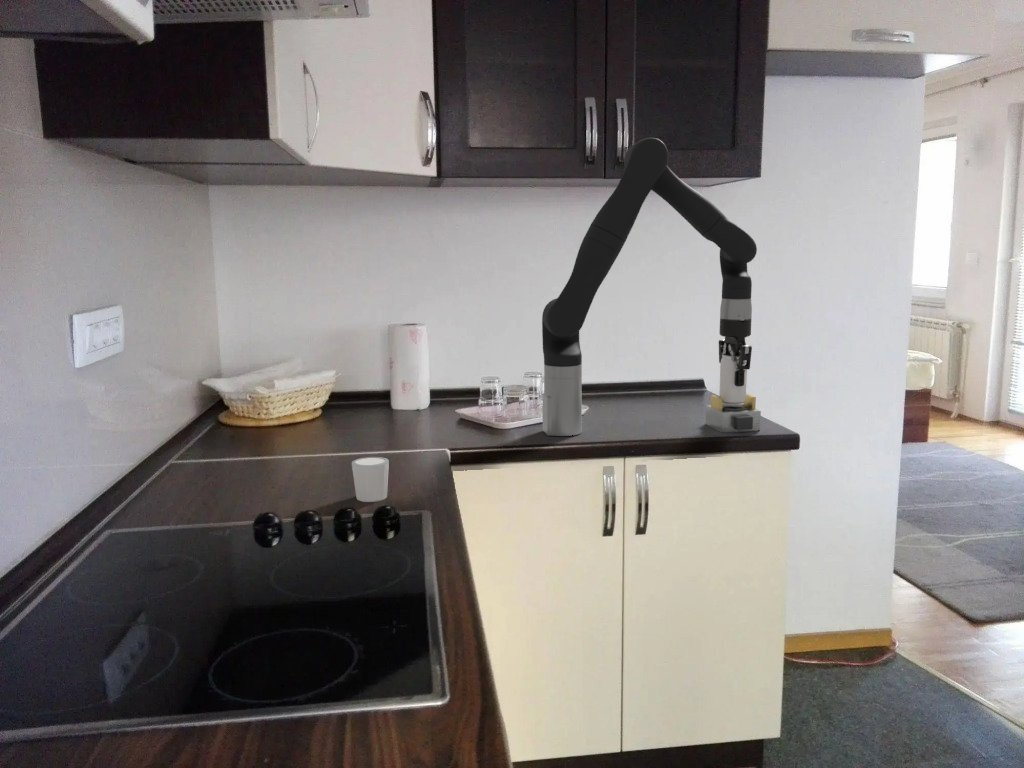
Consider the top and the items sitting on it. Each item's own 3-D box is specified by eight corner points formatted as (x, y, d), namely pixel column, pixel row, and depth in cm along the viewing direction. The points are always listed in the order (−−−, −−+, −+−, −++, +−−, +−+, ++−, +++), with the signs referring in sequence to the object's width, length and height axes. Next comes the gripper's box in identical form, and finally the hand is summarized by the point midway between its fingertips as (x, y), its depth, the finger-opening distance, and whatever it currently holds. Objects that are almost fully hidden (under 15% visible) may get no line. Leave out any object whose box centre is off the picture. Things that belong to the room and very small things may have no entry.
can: (748, 403, 199) (750, 356, 197) (722, 404, 199) (724, 356, 197) (741, 399, 205) (743, 352, 203) (716, 399, 205) (718, 352, 203)
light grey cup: (379, 489, 155) (378, 454, 154) (397, 498, 149) (395, 461, 148) (347, 496, 151) (345, 460, 150) (363, 505, 145) (361, 468, 144)
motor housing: (725, 434, 195) (726, 402, 194) (705, 423, 207) (706, 393, 206) (763, 432, 197) (765, 400, 196) (741, 422, 209) (742, 391, 207)
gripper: (709, 314, 205) (707, 379, 207) (734, 319, 191) (731, 389, 193) (737, 314, 206) (734, 378, 209) (763, 319, 192) (760, 388, 195)
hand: (733, 383), depth 201 cm, fingers closed on can, 6 cm apart
